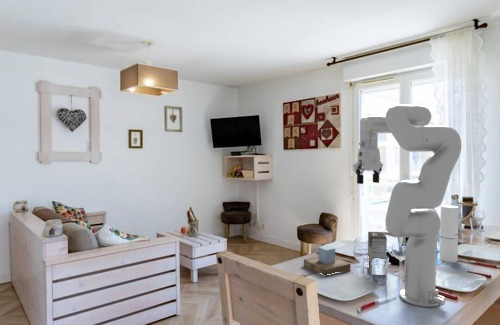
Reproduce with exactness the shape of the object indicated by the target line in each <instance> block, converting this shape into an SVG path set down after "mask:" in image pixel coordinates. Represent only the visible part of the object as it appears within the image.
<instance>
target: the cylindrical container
mask: <svg viewBox="0 0 500 325" xmlns="http://www.w3.org/2000/svg"><path fill="white" fill-rule="evenodd" d="M459 212H460V209H459V206H457V205H452V204H443V205H442V204H441V205H440V217H439V218H440V222H441V225H440V231H439V260H441V261H442V262H446V263H458V253H459V250H458V249H459V244H458V243H459V217H460V216H459V215H460V214H459Z"/></svg>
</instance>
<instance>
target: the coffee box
mask: <svg viewBox="0 0 500 325" xmlns="http://www.w3.org/2000/svg"><path fill="white" fill-rule="evenodd" d="M367 233H368V234H367V257H368V256H369V260H370V261H369V269H368V271H369V275H370V276H373V275H372V265H371V262H372V259H374V258H380V259H386V260H387V245H388V244H387V243H388V239H387V236H386V235H385V232H383V231H367Z"/></svg>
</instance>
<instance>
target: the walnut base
mask: <svg viewBox="0 0 500 325" xmlns="http://www.w3.org/2000/svg"><path fill="white" fill-rule="evenodd" d="M318 257H319V255H318V256H314V257H308V258H303V267H305V268H307V269H309V270H311V271H313V272H315V273H316V274H318V273H322V274H323V275H327V274H332V273H335V272H343V273H346V272H350V271H351V263H349V262H347V261H345V260H342V259H341V258H337V257H336V256H335V262H334V263H330V264H324V263H322V262H320V261H318Z"/></svg>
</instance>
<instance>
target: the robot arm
mask: <svg viewBox="0 0 500 325" xmlns="http://www.w3.org/2000/svg"><path fill="white" fill-rule="evenodd" d="M359 120H360V122H359V143H358V146H359V148H358V152H357V162H355V163H354V164H353V165H352V168H353V171H354V172H355V174H356V183H357V184H359V185H363V184H364V173H365V171H366V172H367V171H372V172H373V173H372V182H373V183H376V184H379V183H380V174H381V172H382V170H383V166H384V163H382V162H381V152H380V149H379V147H378V145H379V143H378V136H379V134H391V135H392V136H393V137H394V139H395V141H396V142H397V144H398V145H399V146H400V148H401V149H402V150H404V151H406V152H411V153H414V152H433V153H432V154H431V155H430V156H429V157H428V158H427V159H426V160H425V161H424V163H423V164H422V165H421V169H420V173H419V176H418V177H417V178H416V179H409V180H408V179H407V180H401V181H399V182H397V183H396V184H395V185H394V186H393V188H392V190H391V194H390V198H389V203H388V207H387V210H386V216H385V229H386V231H387V233H388V234H389V235H390V236H392V237H394V238H408V239H407V241H406V245H405V249H404V250H405V253H404V255H405V256H404V288H403V289H400V291H399V297H400V298H401V300H403V301H404V302H406V303H408V304H411V305H413V306H417V307H424V308H434V307H437V306H439V305H440V306H445V304H446V297H445V296H443V295H440V294H439V291H440V290H439V289H438V288H436V283H437V282H436V278H437V277H436V276H437V275H436V273H437V246H438V238H439V236H440V225H441V222H440V218H441V217H440V216H439V214H438V213H437V212H436V211H435V210H433V209H436V208H438V207H441V205H442V203H443V200H444V198H445V194H446V192H447V188H448V185H449V182H450V180H451V175H452V173H453V171H454V167H455V166H456V164H457V162H458V160H459V158H460V156H461V151H462V139H461V136H460V134H459V132H458V131H457V130H456V129H455V128H453V127H450V126H447V125H440V124H438V125H437V124H436V125H435V124H431V125H430V122H431V120H432V113H431V111H430V110H429V108H428V107H426V106H424V105H420V104H395V105H392V106H391V107H389V108H388V110H387V111H386V113H385V115H383V114H382V115H381V114H378V115H377V114H376V115H374V114H371V115H367V116H366V117H365V116H364V117H362V118H361V119H359Z"/></svg>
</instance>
